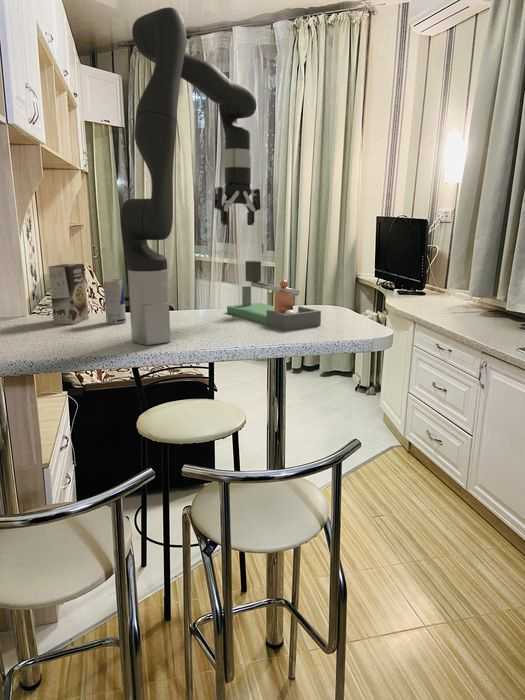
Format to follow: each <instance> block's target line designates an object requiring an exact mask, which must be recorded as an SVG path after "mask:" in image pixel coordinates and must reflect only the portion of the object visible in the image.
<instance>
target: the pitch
mask: <svg viewBox="0 0 525 700" xmlns="http://www.w3.org/2000/svg"><path fill="white" fill-rule="evenodd" d="M241 289H242V290H241V292H242V293H241V304H235V305H227V306H226V313H228V314H231V315H234V316H238V317H241V318H245V319H246V320H247V319H248V320H251V321H254V322H257V323H259V324H264V325H267V326H269V327H272V328H276V329H280V330H284V331H290V330H299V329H304V328H311V327H317V326H318V327H319V326H321V325H322V324H321V320H322V316H321V315H322V311H321V310H317V309H314V308H310V307H304V306H302V305H301V306H298V307H297V311H295V312H296V313H295V314H287V315H286V314H283V313H279V312H275V305H270V304H265V303H262V302H253V303H252V286H251V285H250V286H249V285H242V287H241Z"/></svg>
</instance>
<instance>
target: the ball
mask: <svg viewBox="0 0 525 700" xmlns="http://www.w3.org/2000/svg"><path fill="white" fill-rule="evenodd" d="M296 312H297V311H295V310H294V309H293V310H287V311H285V312H284V314H286V315H287V314H295V313H296Z"/></svg>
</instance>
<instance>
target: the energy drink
mask: <svg viewBox="0 0 525 700" xmlns="http://www.w3.org/2000/svg"><path fill="white" fill-rule="evenodd" d="M123 281H124V280H123V279H119V278H118V279H117V278H113V279H111V278H110V279H104V280H103V294H104V295H103V297H104V307H105V309H104V311H105V321H106V323H107V324H108V325H121V324H124V323H126V321H127V320H126V319H127V318H126V317H127V315H126V303H125V289H124V288H125V287H124V282H123Z"/></svg>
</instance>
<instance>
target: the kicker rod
mask: <svg viewBox="0 0 525 700" xmlns="http://www.w3.org/2000/svg"><path fill="white" fill-rule="evenodd" d="M244 263H245V281H246V282H250V286H251V287H255V288H259V289H264V290H267V291H268V290H269V291H274V307H275V312H279V313H283V314H284V312H285V311H287V310H293V311H294V296H299V294H300V290H299V289H296V288H289V282H288V280H285V279H282V280H281V281H280V283H279V285H276V284H270V283H264V282H262V261H259V260H245V262H244Z"/></svg>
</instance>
